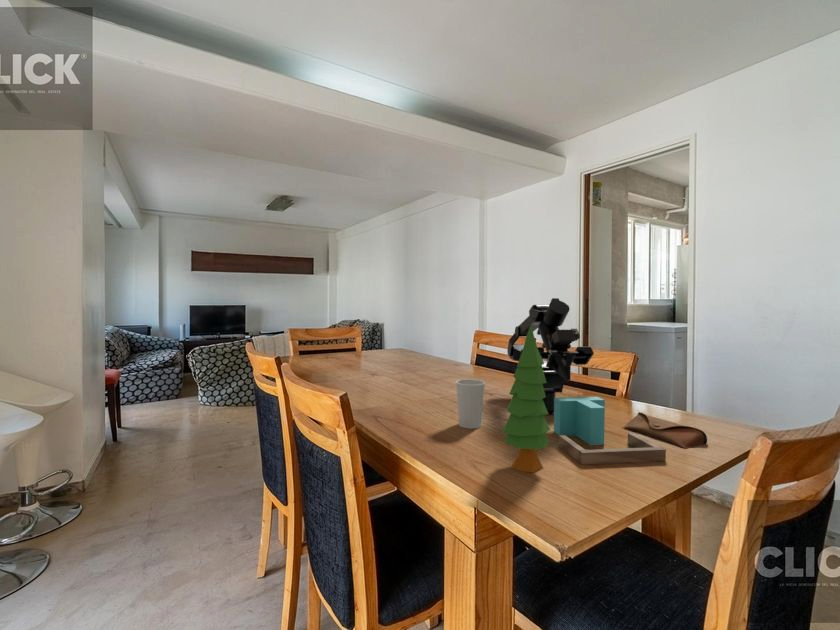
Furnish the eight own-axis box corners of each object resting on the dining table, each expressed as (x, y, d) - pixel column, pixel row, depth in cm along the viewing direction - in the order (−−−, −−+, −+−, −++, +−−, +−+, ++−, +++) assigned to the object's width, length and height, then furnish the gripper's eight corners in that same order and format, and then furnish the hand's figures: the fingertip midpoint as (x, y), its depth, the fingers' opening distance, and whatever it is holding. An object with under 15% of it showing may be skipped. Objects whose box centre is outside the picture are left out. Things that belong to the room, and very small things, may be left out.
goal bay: (558, 445, 94) (558, 435, 94) (633, 443, 96) (633, 432, 96) (582, 464, 83) (582, 452, 83) (665, 460, 85) (665, 449, 85)
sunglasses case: (618, 427, 108) (626, 404, 109) (632, 436, 111) (640, 415, 112) (687, 449, 92) (696, 423, 93) (701, 460, 95) (710, 434, 96)
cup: (451, 426, 108) (451, 383, 108) (462, 418, 115) (462, 378, 115) (479, 431, 104) (479, 386, 104) (488, 423, 111) (488, 380, 111)
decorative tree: (533, 479, 76) (535, 324, 75) (492, 465, 82) (493, 322, 81) (555, 464, 83) (557, 322, 82) (515, 452, 90) (517, 321, 88)
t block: (553, 431, 104) (554, 397, 104) (596, 429, 106) (597, 396, 105) (573, 445, 94) (574, 408, 94) (620, 444, 95) (621, 407, 95)
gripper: (529, 319, 113) (545, 363, 102) (591, 318, 115) (612, 362, 104) (519, 343, 121) (532, 387, 110) (577, 343, 123) (595, 385, 112)
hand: (568, 380), depth 109 cm, fingers closed
